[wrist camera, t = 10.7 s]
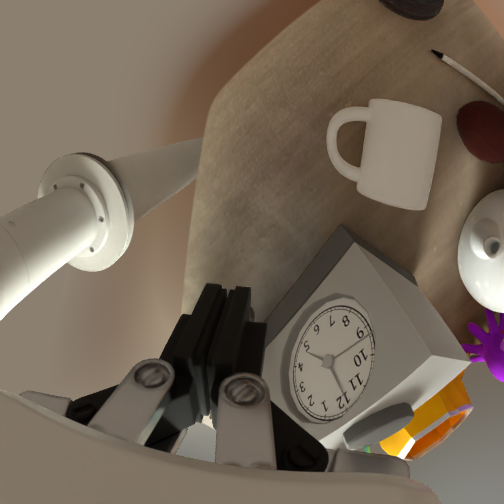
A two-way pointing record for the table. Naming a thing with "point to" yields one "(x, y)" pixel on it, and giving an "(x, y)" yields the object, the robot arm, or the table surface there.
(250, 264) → the table surface
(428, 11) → the lantern
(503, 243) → the teapot
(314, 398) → the alarm clock
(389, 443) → the faceted orange bucket
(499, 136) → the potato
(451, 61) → the pen
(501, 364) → the toy
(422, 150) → the mug
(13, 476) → the robot arm
